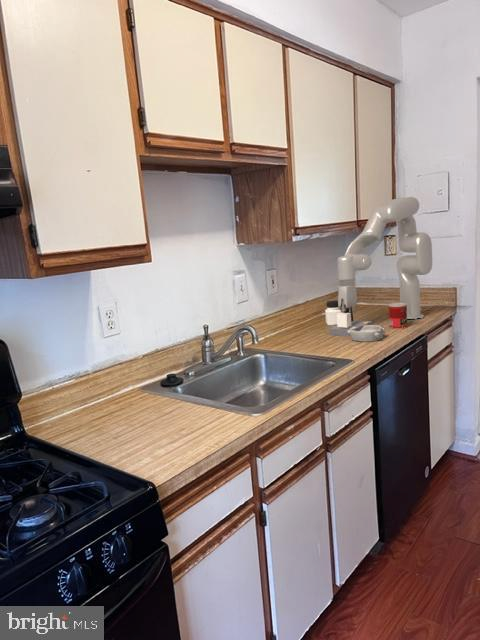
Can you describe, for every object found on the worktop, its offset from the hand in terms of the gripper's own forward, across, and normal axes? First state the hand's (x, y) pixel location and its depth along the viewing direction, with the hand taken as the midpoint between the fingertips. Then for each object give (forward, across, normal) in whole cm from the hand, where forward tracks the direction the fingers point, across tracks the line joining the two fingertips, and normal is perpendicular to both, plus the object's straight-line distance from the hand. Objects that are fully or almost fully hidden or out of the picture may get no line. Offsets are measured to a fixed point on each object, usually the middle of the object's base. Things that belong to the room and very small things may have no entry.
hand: (349, 321), depth 222 cm
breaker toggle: (+1, +5, 0) cm, 5 cm away
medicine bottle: (+5, -14, -17) cm, 23 cm away
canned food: (+5, -15, +17) cm, 23 cm away
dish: (+5, +10, +14) cm, 18 cm away
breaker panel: (+5, -1, 0) cm, 5 cm away
